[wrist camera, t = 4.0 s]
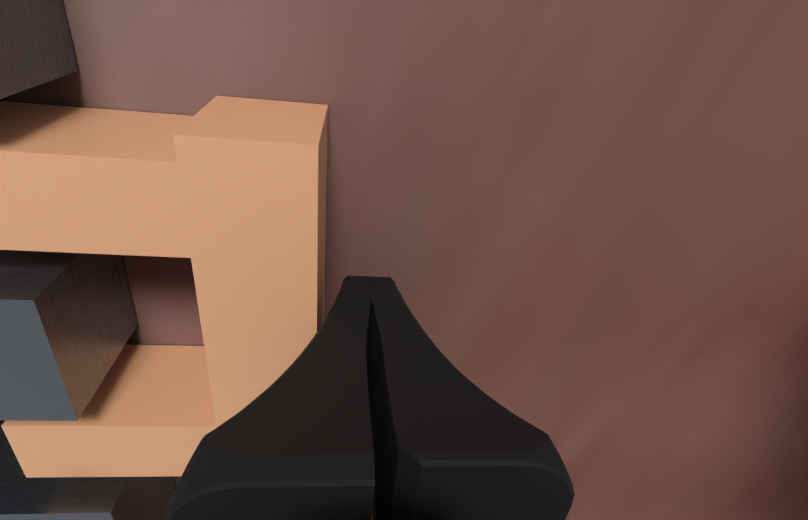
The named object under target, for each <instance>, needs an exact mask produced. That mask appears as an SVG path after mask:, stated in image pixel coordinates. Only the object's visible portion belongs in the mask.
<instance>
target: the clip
mask: <svg viewBox="0 0 808 520" xmlns="http://www.w3.org/2000/svg"><path fill="white" fill-rule="evenodd" d="M327 132H328V105H324V104H311V103H299V102H287V101H275V100H263V99H251V98H238V97H226V96H216V97H215V98H214V99H212V100H211V101H210V102H209V103H208V104H207V105H206V106H205V107H203V108H202V109H201V110H200V111H199V112H198V113H197V114H195V115H194V116H188V115H175V114H162V113H149V112H136V111H123V110H110V109H97V108H84V107H71V106H58V105H45V104H32V103H19V102H6V101H0V250H19V251H42V252H65V253H88V254H111V255H134V256H157V257H180V258H191V262H192V268H193V275H194V282H195V288H196V295H197V302H198V309H199V315H200V322H201V329H202V335H203V342H204V346H167V345H125V346H124V347H123V349H122V350H121V352H120V354H119V355H118V357H117V358H116V360H115V362H114V363H113V365H112V366H111V368H110V370H109V371H108V373H107V374H106V376H105V378H104V379H103V381H102V382H101V384H100V386H99V387H98V389H97V390H96V392H95V394H94V395H93V397H92V398H91V400H90V402H89V403H88V405H87V406H86V408H85V410H84V411H83V413H82V414H81V416H80V418H79V419H78V421H20V420H5V422H4V423H3V424H2V425H1V427H2V429H3V431H4V433H5V435H6V437H7V439H8V441H9V443H10V445H11V447H12V449H13V451H14V454H15V456H16V458H17V460H18V462H19V464H20V466H21V468H22V470H23V472H24V474H25V476H26V478H33V477H161V476H182V474H183V472H184V470H185V468H186V466H187V464H188V462H189V460H190V459H191V457H192V455H193V453H194V451H195V450H196V448H197V446H198V445H199V443H200V441H201V440H202V438H203V437H204V436H205V435H206V434H208V433H209V432H211V431H213V430H214V429H216V428H217V427H218V426H220V425H221V424H223V423H224V422H226V421H227V420H229V419H230V418H231V417H233V416H234V415H236V414H237V413H238V412H240V411H241V410H242V409H244V408H245V407H246V406H247V405H248V404H250V403H251V402H252V401H253V400H254V399H256V398H257V397H258V396H259V395H260V394H262V393H263V392H264V391H265V390H266V389H267V388H269V387H270V386H271V385H272V384H273V383H274V382H275V381H276V380H277V379H278V378H279V377H280V376H281V375H282V374H283V373H284V372H285V371H286V370H287V369H288V368H289V367H290V366H291V365H292V363H293V362H294V361H295V360H296V359H297V358H298V356H299V355H300V354H301V353H302V352H303V350H304V349H305V348H306V347H307V345H308V344H309V343H310V341H311V340H312V339H313V337H314V336H315V334H316V333H317V331H318V330H319V328H320V327H321V326H322V324H323V322H324V300H325V244H326V188H327Z"/></svg>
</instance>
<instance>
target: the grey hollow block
mask: <svg viewBox="0 0 808 520" xmlns="http://www.w3.org/2000/svg"><path fill="white" fill-rule="evenodd" d="M77 71H79V70H78V66H77V61H76V57H75V53H74V49H73V44H72V40H71V36H70V31H69V27H68V23H67V19H66V14H65V10H64V6H63V1H62V0H0V99H2V98H5V97H7V96H10V95H13V94H16V93H18V92H21V91H24V90H27V89H29V88H32V87H35V86H38V85H41V84H43V83H46V82H49V81H52V80H54V79H57V78H60V77H63V76H65V75H68V74H71V73H74V72H77ZM137 325H138V323H137V318H136V314H135V310H134V305H133V301H132V297H131V293H130V288H129V284H128V280H127V276H126V271H125V267H124V263H123V258H122V255H111V254H88V253H65V252H42V251H19V250H0V520H165V519H166V517H167V514H168V511H169V508H170V505H171V502H172V499H173V496H174V493H175V491H176V485H175V481H174V477H173V476H161V477H33V478H26V476H25V474H24V472H23V470H22V468H21V466H20V464H19V462H18V460H17V458H16V456H15V454H14V451H13V449H12V447H11V445H10V443H9V441H8V439H7V437H6V435H5V433H4V431H3V429H2V427H1V425H2V424H3V423H4V422H5V420H20V421H78V419H79V418H80V416H81V414H82V413H83V411H84V410H85V408H86V406H87V405H88V403H89V402H90V400H91V398H92V397H93V395H94V394H95V392H96V390H97V389H98V387H99V386H100V384H101V382H102V381H103V379H104V378H105V376H106V374H107V373H108V371H109V370H110V368H111V366H112V365H113V363H114V362H115V360H116V358H117V357H118V355H119V354H120V352H121V350H122V349H123V347H124V346H125V344H126V342H127V341H128V339H129V338H130V336H131V335H132V333H133V331H134V330H135V328H136V327H137Z"/></svg>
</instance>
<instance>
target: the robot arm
mask: <svg viewBox="0 0 808 520" xmlns="http://www.w3.org/2000/svg"><path fill="white" fill-rule="evenodd" d="M573 498H574V490H573V485H572V482H571V479H570V477H569V475H568V472H567V470H566V467H565V465H564V463H563V461H562V459H561V457H560V455H559V453H558V452H557V450H556V448H555V446H554V445H553V443H552V441H551V439H550V437H549V435H548V434H546V433H544V432H543V431H541V430H539V429H538V428H536V427H534V426H533V425H531V424H529V423H528V422H526V421H524V420H523V419H521V418H519V417H518V416H516V415H514V414H513V413H511V412H510V411H508V410H507V409H506V408H504V407H503V406H501V405H500V404H499V403H497V402H496V401H494V400H493V399H492V398H490V397H489V396H488V395H486V394H485V393H484V392H483V391H481V390H480V389H479V388H478V387H477V386H475V385H474V384H473V383H472V382H471V381H470V380H468V379H467V378H466V377H465V376H464V375H463V374H462V373H460V372H459V371H458V370H457V369H456V368H455V367H454V366H453V365H452V364H451V362H450V361H449V360H448V359H447V358H446V357H445V356H444V355H443V354H442V353H441V352H440V350H439V349H438V348H437V347H436V346H435V344H434V343H433V342H432V341H431V339H430V338H429V337H428V336H427V334H426V333H425V332H424V330H423V329H422V328H421V326H420V325H419V323H418V322H417V320H416V319H415V317H414V316H413V314H412V313H411V311H410V310H409V308H408V307H407V305H406V303H405V301H404V300H403V298H402V296H401V294H400V293H399V291H398V289H397V287H396V284H395V282H394V281H393V280H392V278H391V277H367V276H347V277H346V278H344V279H343V284H342V287H341V290H340V292H339V295H338V297H337V299H336V301H335V303H334V305H333V307H332V309H331V310H330V312H329V314H328V316H327V318H326V319H325V321H324V322H323V324H322V326H321V327H320V328H319V330H318V331H317V333H316V334H315V336H314V337H313V339H312V340H311V341H310V343H309V344H308V345H307V347H306V348H305V349H304V350H303V352H302V353H301V354H300V355H299V356H298V358H297V359H296V360H295V361H294V362H293V363H292V365H291V366H290V367H289V368H288V369H287V370H286V371H285V372H284V373H283V374H282V375H281V376H280V377H279V378H278V379H277V380H276V381H275V382H274V383H273V384H272V385H271V386H270V387H269V388H267V389H266V390H265V391H264V392H263V393H262V394H260V395H259V396H258V397H257V398H256V399H254V400H253V401H252V402H251V403H250V404H248V405H247V406H246V407H245V408H244V409H242V410H241V411H240V412H238V413H237V414H236V415H234V416H233V417H231V418H230V419H229V420H227V421H226V422H224V423H223V424H221V425H220V426H218V427H217V428H216V429H214V430H213V431H211V432H209V433H208V434H206V435H205V436H204V437H203V438H202V440H201V441H200V443H199V445H198V446H197V448H196V450H195V451H194V453H193V455H192V457H191V459H190V460H189V462H188V464H187V466H186V468H185V470H184V472H183V474H182V476H181V478H180V480H179V483H178V485H177V488H176V491H175V493H174V496H173V499H172V502H171V505H170V508H169V511H168V514H167V517H166V519H165V520H371V515H372V520H565V519H566V517H567V514H568V512H569V510H570V508H571V506H572V502H573Z"/></svg>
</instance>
